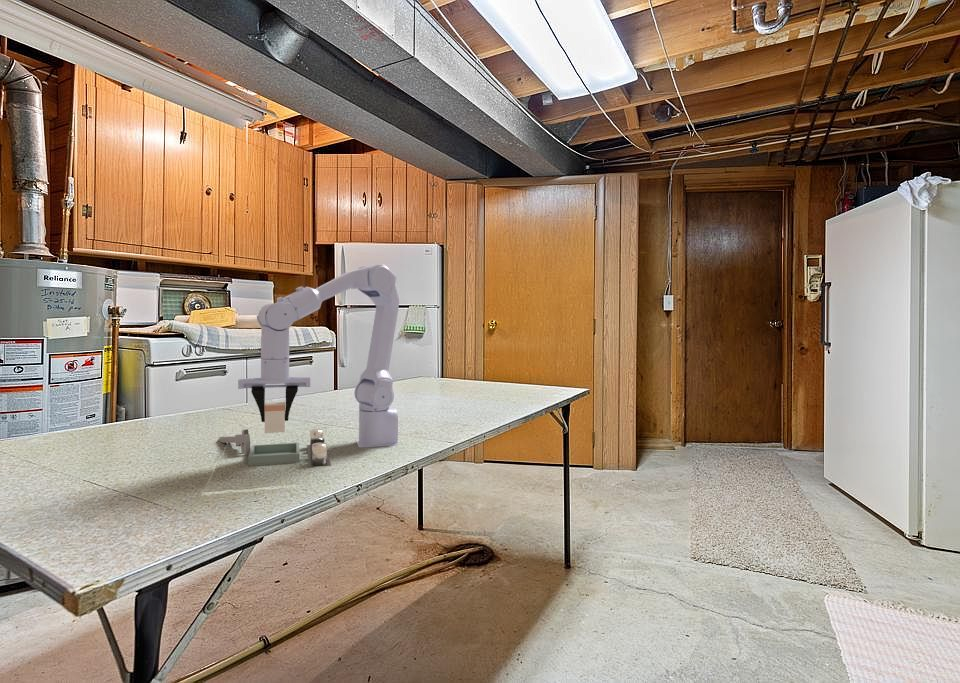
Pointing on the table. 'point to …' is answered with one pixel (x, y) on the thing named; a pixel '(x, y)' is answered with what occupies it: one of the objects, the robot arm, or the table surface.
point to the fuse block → (317, 449)
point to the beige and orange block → (274, 417)
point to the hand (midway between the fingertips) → (275, 420)
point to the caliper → (239, 441)
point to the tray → (274, 454)
